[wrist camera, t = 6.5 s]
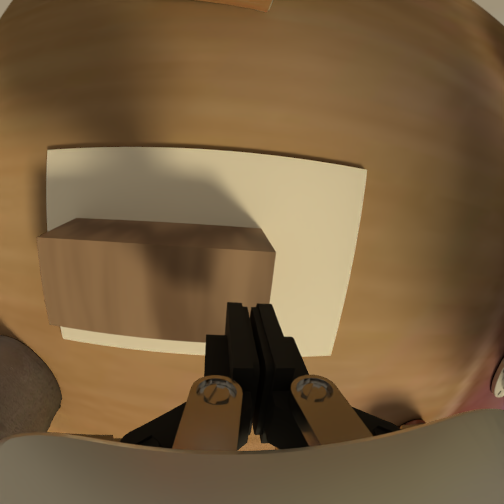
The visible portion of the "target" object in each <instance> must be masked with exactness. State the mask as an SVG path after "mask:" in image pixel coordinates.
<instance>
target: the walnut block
mask: <svg viewBox="0 0 504 504" xmlns="http://www.w3.org/2000/svg"><path fill="white" fill-rule="evenodd" d="M37 246H38V256H39V265H40V273H41V280H42V286H43V293H44V298H45V304H46V309H47V314H48V319H49V324H50V325H55V326H61V327H67V328H73V329H79V330H86V331H92V332H99V333H107V334H114V335H123V336H131V337H140V338H150V339H161V340H173V341H186V342H202V343H206V334H210V335H225V324H226V310H227V302H237V303H242V306H243V307H248V312H249V317H250V312H251V307H256V305H257V303H261V304H269V303H270V296H271V288H272V281H273V273H274V265H275V257H276V251H275V250H274V248H273V246H272V245H271V243H270V242H269V240H268V238H267V237H266V235H265V234H264V232H263V230H262V229H261V228H249V227H235V226H220V225H205V224H189V223H172V222H154V221H135V220H113V219H90V218H75V219H73V220H71V221H69V222H67V223H65V224H62V225H60V226H58V227H56V228H54V229H52V230H50V231H48V232H46V233H44V234H42V235H40V236H38V237H37Z"/></svg>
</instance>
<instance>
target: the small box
mask: <svg viewBox="0 0 504 504" xmlns="http://www.w3.org/2000/svg"><path fill="white" fill-rule="evenodd" d="M196 1H205V2H213V3H220V4H227V5H233V6H239V7H244V8H250V9H254V10H258V11H262V12H267V11H269V9H270V7H271V5H272V2H273V0H196Z"/></svg>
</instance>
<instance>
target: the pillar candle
mask: <svg viewBox="0 0 504 504" xmlns="http://www.w3.org/2000/svg"><path fill="white" fill-rule="evenodd" d="M61 400H62V395H61V391H60V387H59V385H58V383H57V381H56V379H55V377H54V376H53V373H52V372H51V370H50V369H49V368H48V366H47V365H46V364H45V363H44V362H43V360H42V359H40V358H39V357H38V356H37V354H36V353H34V352H33V351H32V350H31V349H30V348H28V347H27V346H26V345H24V344H22V343H21V342H19V341H18V340H16V339H13V338H11V337H7V336H1V335H0V440H2V439H3V438H5V437H8V436H10V435H14V434H19V433H27V432H47V430H48V429H49V427H50V424H51V421H52V420H53V418H54V416H55V415H56V412H57V411H58V409H59V408H60V406H61V405H60V403H61Z"/></svg>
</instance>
